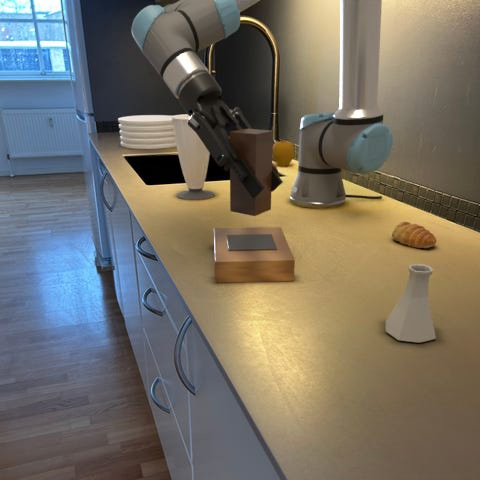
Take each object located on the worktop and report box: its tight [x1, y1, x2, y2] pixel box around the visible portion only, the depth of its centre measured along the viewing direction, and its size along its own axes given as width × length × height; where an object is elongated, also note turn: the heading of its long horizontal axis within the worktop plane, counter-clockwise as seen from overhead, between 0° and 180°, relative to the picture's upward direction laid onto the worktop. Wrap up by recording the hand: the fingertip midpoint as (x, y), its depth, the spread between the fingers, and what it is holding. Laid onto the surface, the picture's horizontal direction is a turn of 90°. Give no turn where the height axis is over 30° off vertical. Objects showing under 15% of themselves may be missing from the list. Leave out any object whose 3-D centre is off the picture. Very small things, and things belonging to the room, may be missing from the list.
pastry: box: [391, 221, 438, 249], centre depth 109 cm, size 9×7×4 cm
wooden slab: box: [213, 226, 296, 284], centre depth 99 cm, size 14×20×4 cm
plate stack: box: [117, 114, 177, 150], centre depth 236 cm, size 28×28×12 cm
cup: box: [172, 113, 216, 201], centre depth 144 cm, size 12×12×22 cm
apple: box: [272, 140, 295, 167], centre depth 189 cm, size 9×8×9 cm
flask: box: [384, 263, 437, 344], centre depth 72 cm, size 7×7×10 cm
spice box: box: [229, 128, 274, 217], centre depth 92 cm, size 6×6×14 cm
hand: (268, 189), depth 91 cm, fingers closed on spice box, 5 cm apart
